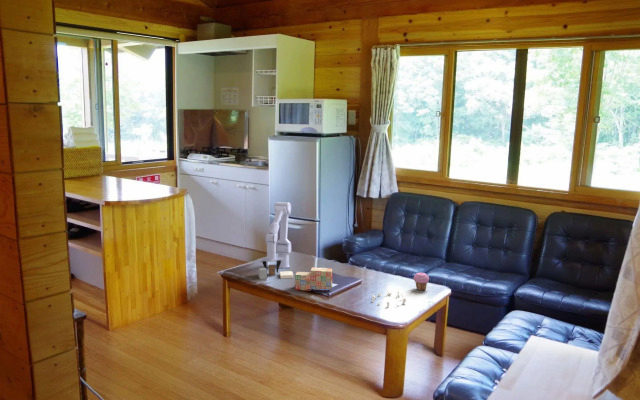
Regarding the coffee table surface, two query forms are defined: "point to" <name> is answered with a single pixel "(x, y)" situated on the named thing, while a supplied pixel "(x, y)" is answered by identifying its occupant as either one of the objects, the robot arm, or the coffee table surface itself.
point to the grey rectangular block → (262, 273)
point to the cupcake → (421, 281)
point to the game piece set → (388, 295)
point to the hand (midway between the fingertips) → (271, 272)
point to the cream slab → (286, 274)
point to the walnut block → (271, 270)
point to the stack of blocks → (314, 279)
